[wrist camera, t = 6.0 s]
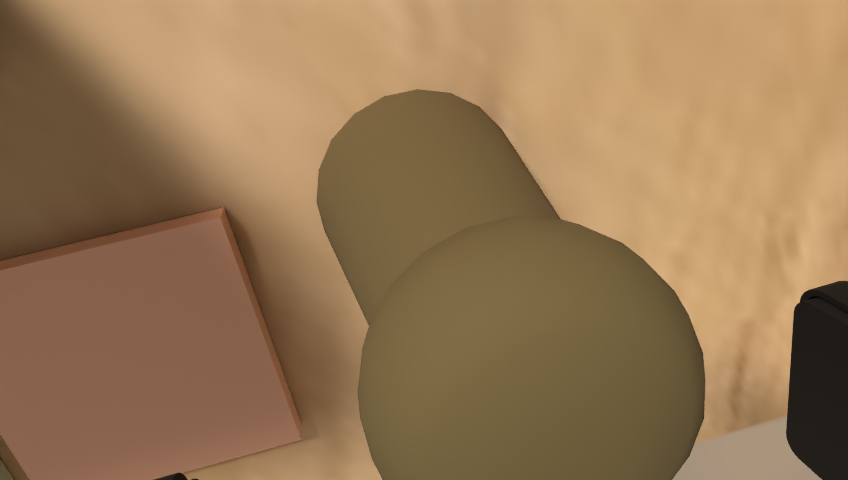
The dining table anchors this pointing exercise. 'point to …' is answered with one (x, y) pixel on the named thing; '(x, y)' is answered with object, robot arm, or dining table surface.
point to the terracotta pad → (138, 356)
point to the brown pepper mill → (498, 311)
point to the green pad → (4, 472)
